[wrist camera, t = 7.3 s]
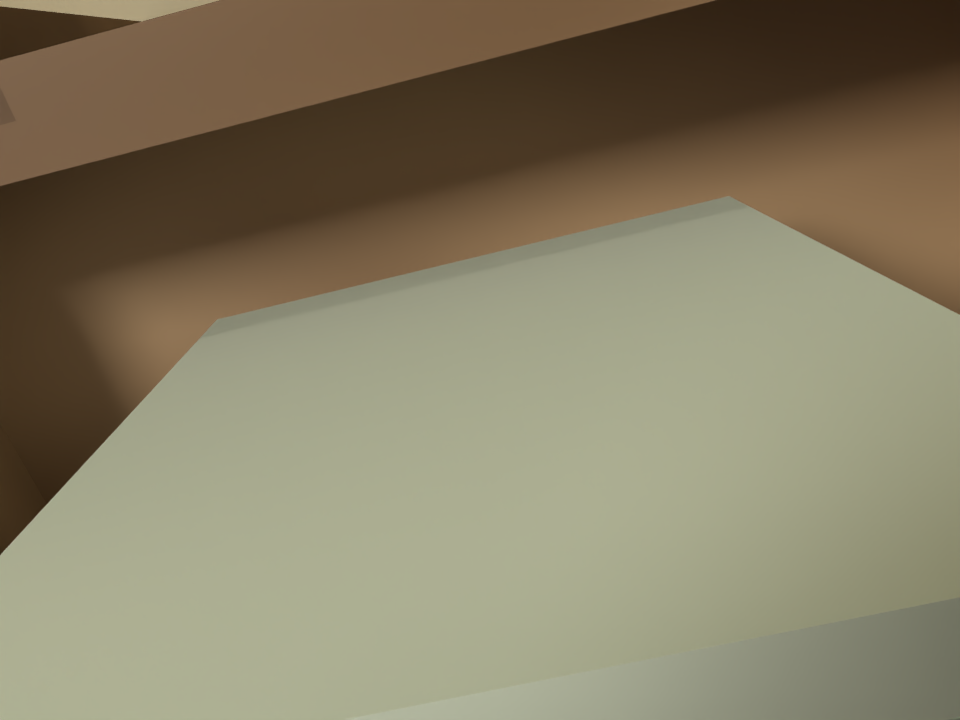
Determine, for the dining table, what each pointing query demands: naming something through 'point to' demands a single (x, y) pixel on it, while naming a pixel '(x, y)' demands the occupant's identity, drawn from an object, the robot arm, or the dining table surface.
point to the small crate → (523, 499)
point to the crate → (421, 163)
